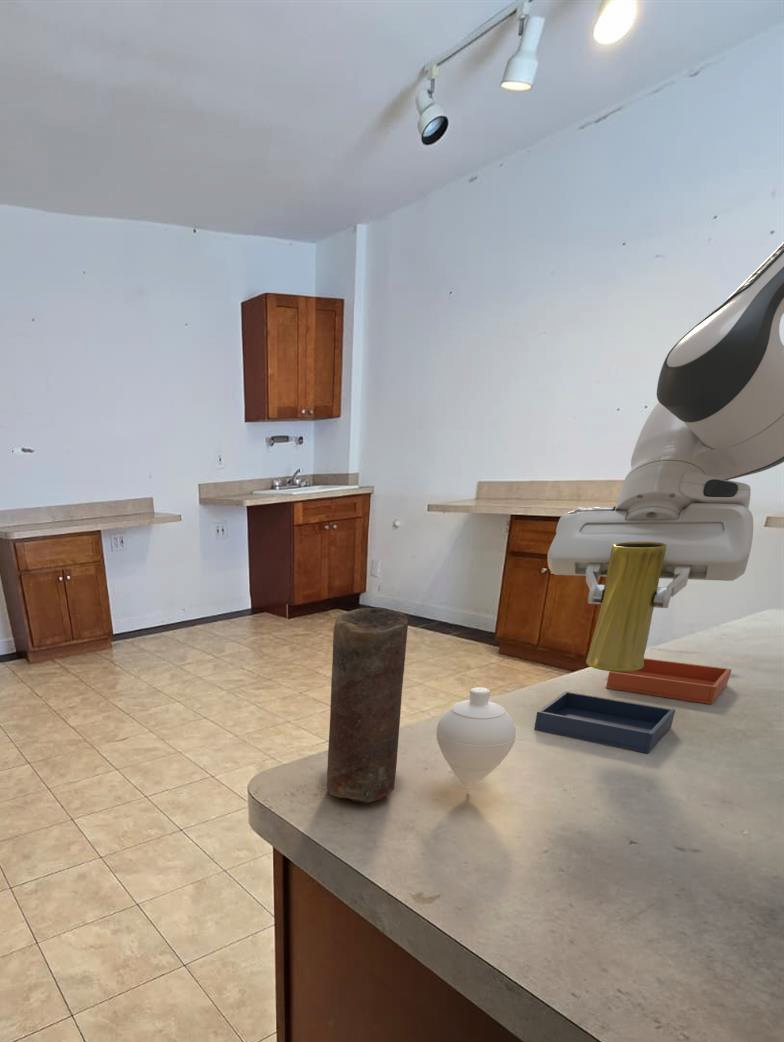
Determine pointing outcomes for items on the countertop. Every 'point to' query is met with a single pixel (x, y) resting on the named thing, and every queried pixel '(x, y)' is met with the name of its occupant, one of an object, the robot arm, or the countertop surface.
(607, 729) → the blue tray
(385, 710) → the candle
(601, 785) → the countertop surface
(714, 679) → the terracotta tray
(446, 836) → the countertop surface
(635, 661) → the vase
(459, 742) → the spinning top
